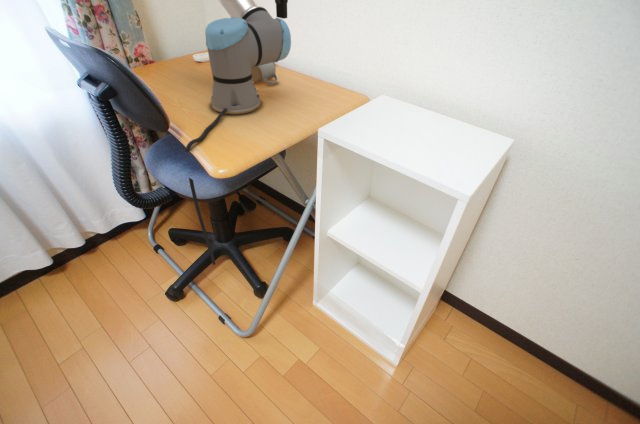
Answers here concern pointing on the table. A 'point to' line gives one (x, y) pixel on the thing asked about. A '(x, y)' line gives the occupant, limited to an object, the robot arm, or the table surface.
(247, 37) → the robot arm
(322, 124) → the table surface
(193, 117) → the table surface
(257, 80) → the ceramic mug
